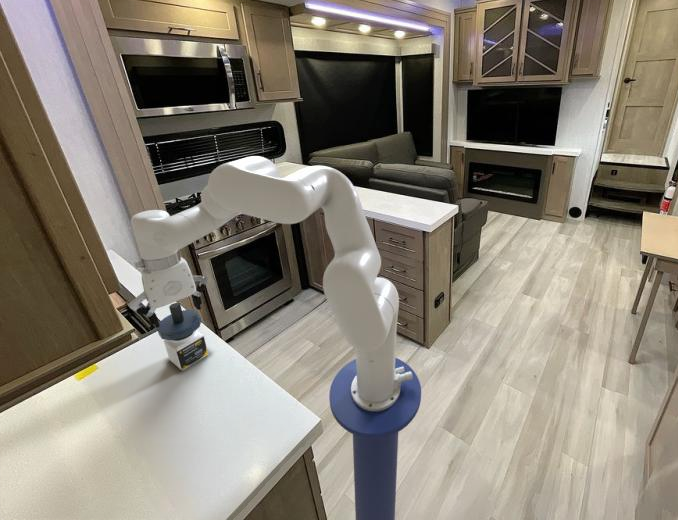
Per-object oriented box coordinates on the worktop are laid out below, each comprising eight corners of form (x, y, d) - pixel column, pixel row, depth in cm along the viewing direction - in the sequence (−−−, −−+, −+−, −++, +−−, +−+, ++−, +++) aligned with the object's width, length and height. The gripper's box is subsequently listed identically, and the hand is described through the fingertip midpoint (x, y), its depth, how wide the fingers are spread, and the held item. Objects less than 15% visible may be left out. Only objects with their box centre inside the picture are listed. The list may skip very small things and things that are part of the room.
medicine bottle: (182, 371, 85) (171, 336, 81) (169, 360, 89) (158, 325, 84) (208, 354, 91) (200, 320, 87) (195, 344, 94) (186, 311, 90)
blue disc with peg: (203, 313, 92) (198, 292, 89) (197, 335, 84) (191, 312, 81) (165, 320, 89) (158, 298, 86) (154, 343, 80) (147, 320, 78)
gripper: (121, 279, 70) (142, 340, 76) (206, 252, 82) (218, 306, 89) (113, 267, 74) (133, 326, 81) (194, 244, 87) (206, 296, 93)
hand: (177, 316), depth 85 cm, fingers open, 9 cm apart
